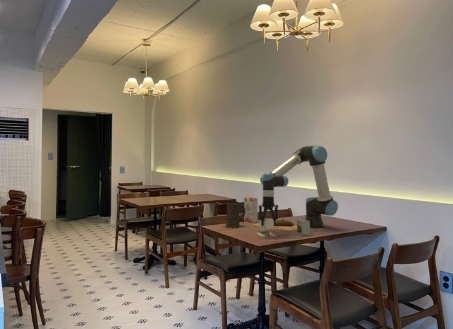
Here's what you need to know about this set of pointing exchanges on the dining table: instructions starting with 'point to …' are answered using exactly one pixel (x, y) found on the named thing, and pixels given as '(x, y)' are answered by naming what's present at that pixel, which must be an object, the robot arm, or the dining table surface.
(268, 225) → the sleeve
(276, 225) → the cutting board
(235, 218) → the beer stein
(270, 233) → the pin board
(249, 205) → the cracker box
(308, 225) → the feeder chute
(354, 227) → the dining table surface
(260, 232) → the seated sleeve
